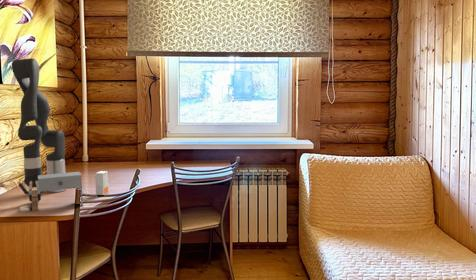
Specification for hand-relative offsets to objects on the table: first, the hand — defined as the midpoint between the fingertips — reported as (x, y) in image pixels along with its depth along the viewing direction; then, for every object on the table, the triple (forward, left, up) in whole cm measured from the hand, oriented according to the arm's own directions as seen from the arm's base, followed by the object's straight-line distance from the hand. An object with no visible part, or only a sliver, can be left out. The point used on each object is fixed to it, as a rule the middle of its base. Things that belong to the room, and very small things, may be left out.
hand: (35, 201), depth 208 cm
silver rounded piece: (+11, -4, -1) cm, 12 cm away
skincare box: (-3, +32, -1) cm, 32 cm away
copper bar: (+6, 0, -1) cm, 6 cm away
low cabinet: (+11, +11, -1) cm, 16 cm away
